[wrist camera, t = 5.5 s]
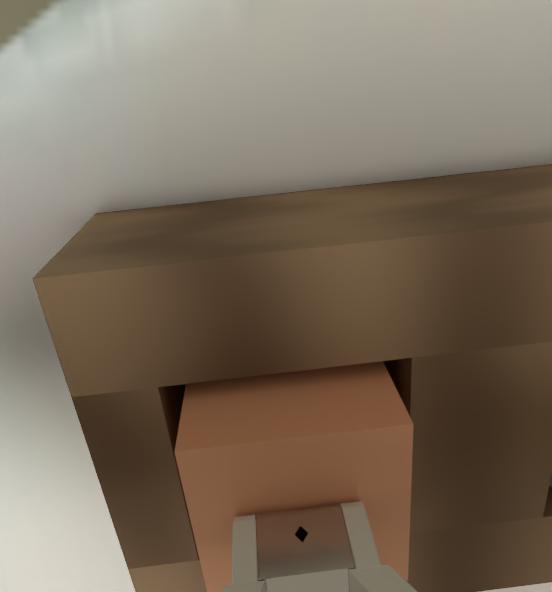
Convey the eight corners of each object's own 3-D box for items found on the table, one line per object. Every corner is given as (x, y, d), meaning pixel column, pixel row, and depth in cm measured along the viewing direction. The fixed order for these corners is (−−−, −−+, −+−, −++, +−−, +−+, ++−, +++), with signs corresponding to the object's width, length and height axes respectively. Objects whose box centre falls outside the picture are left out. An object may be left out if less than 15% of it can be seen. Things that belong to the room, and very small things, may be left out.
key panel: (748, 143, 15) (965, 176, 11) (655, 444, 20) (775, 553, 16) (96, 213, 15) (32, 279, 10) (169, 503, 20) (149, 633, 15)
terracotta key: (360, 314, 15) (413, 423, 10) (362, 443, 17) (407, 580, 12) (194, 333, 15) (174, 452, 10) (217, 460, 17) (210, 605, 12)
